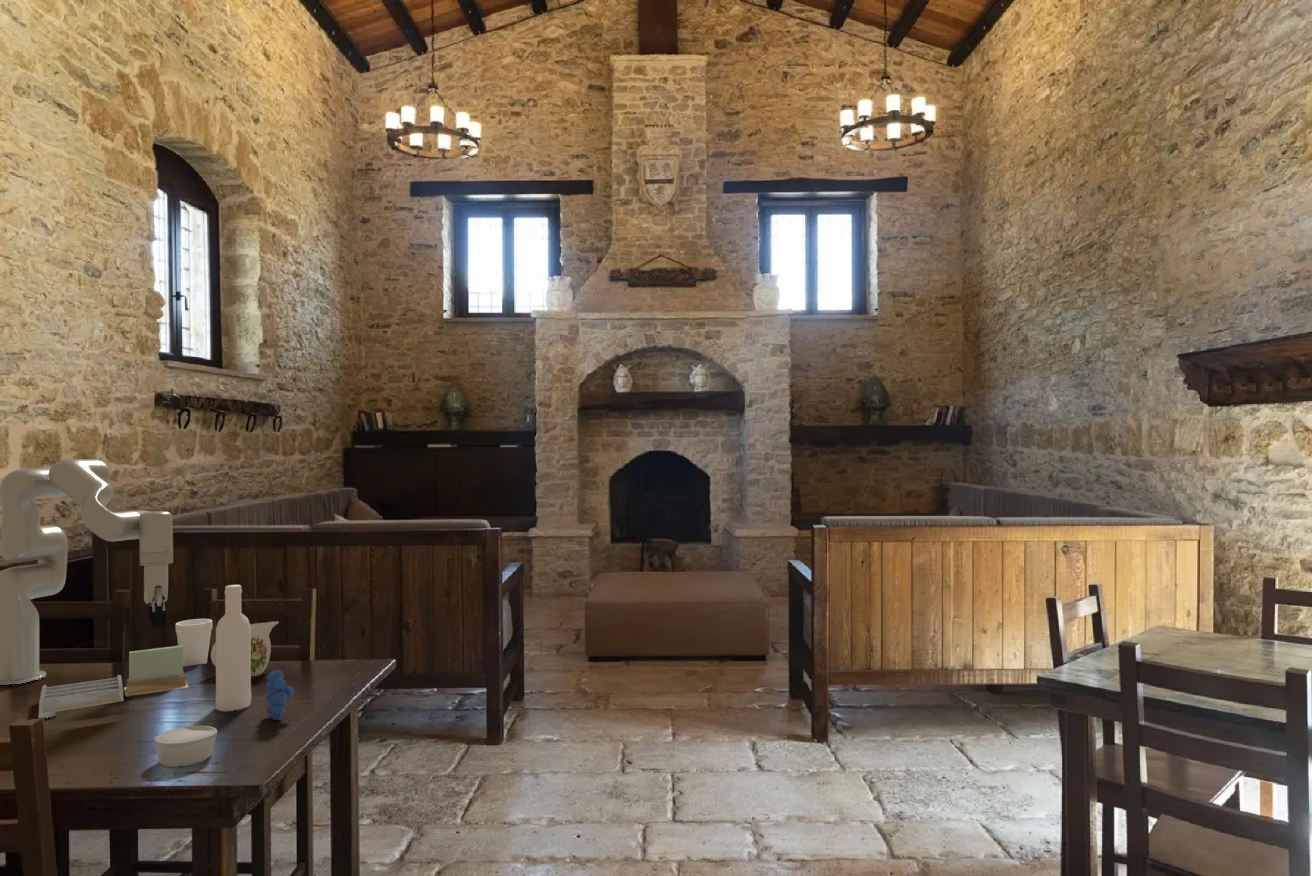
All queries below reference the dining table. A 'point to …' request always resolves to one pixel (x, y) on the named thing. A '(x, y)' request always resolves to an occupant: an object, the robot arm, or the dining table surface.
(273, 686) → the grapes
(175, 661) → the sage green plank
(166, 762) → the ramekin
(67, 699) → the rack
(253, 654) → the pitcher
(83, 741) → the dining table surface
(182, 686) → the stand
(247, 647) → the bottle
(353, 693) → the dining table surface
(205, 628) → the foam cup
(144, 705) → the dining table surface
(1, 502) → the robot arm
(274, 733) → the dining table surface
